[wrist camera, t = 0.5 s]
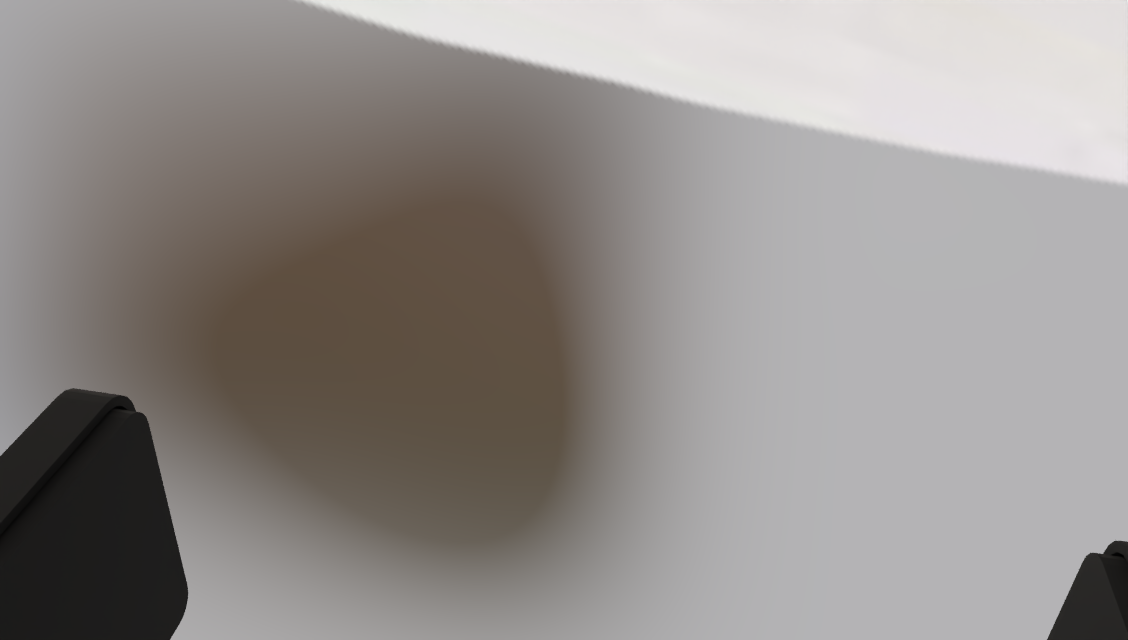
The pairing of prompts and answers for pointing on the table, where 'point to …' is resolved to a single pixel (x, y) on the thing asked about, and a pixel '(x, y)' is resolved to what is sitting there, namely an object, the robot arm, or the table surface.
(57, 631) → the robot arm
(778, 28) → the table surface
